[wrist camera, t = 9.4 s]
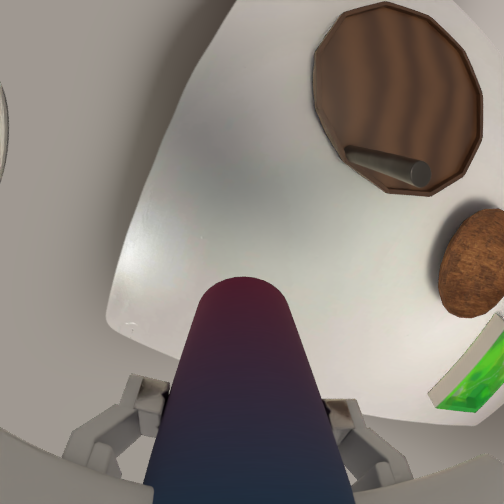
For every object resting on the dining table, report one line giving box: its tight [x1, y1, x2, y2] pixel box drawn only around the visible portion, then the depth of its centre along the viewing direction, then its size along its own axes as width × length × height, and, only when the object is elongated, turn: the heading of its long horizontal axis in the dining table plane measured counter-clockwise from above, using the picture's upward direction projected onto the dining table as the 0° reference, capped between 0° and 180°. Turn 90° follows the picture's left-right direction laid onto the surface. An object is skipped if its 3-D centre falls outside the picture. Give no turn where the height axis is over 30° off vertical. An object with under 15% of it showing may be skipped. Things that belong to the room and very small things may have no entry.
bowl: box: [438, 208, 504, 318], centre depth 39 cm, size 20×22×5 cm
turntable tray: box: [313, 1, 483, 197], centre depth 23 cm, size 26×26×16 cm
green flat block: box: [428, 313, 504, 413], centre depth 52 cm, size 25×25×5 cm
